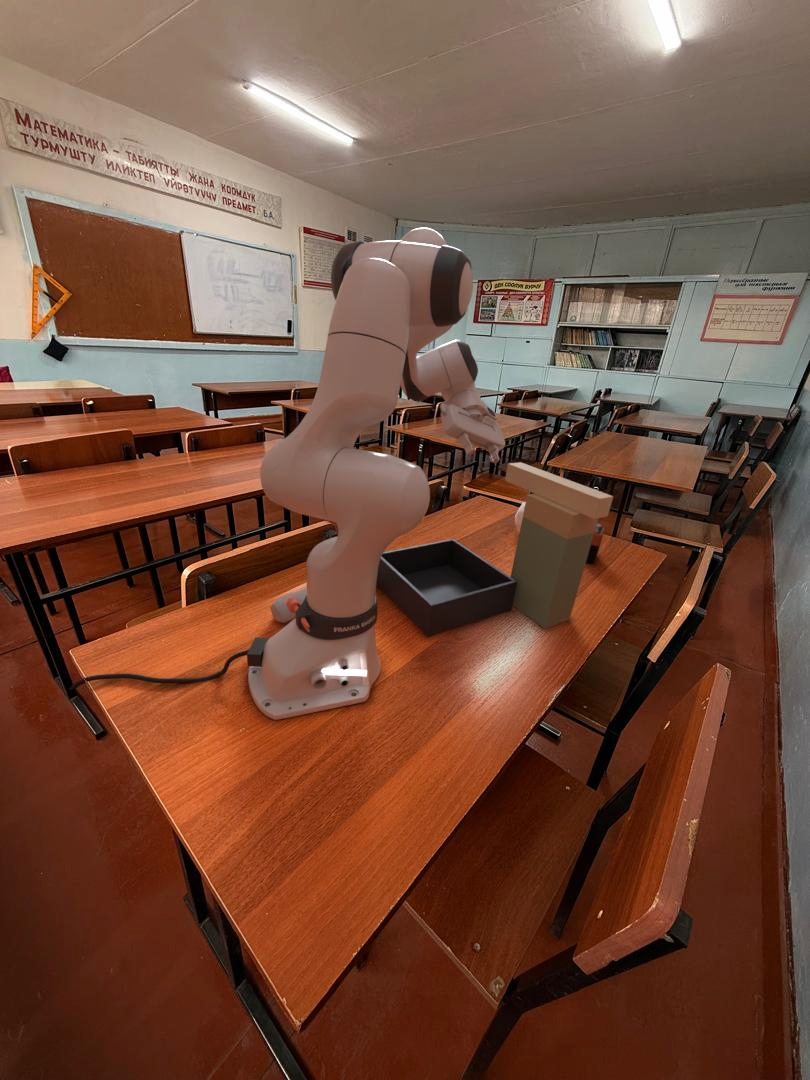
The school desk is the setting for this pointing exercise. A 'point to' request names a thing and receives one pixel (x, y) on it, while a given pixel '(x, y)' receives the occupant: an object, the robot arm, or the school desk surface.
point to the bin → (444, 585)
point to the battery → (595, 544)
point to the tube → (280, 608)
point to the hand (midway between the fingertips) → (483, 457)
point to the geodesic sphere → (519, 517)
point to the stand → (550, 559)
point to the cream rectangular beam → (560, 490)
